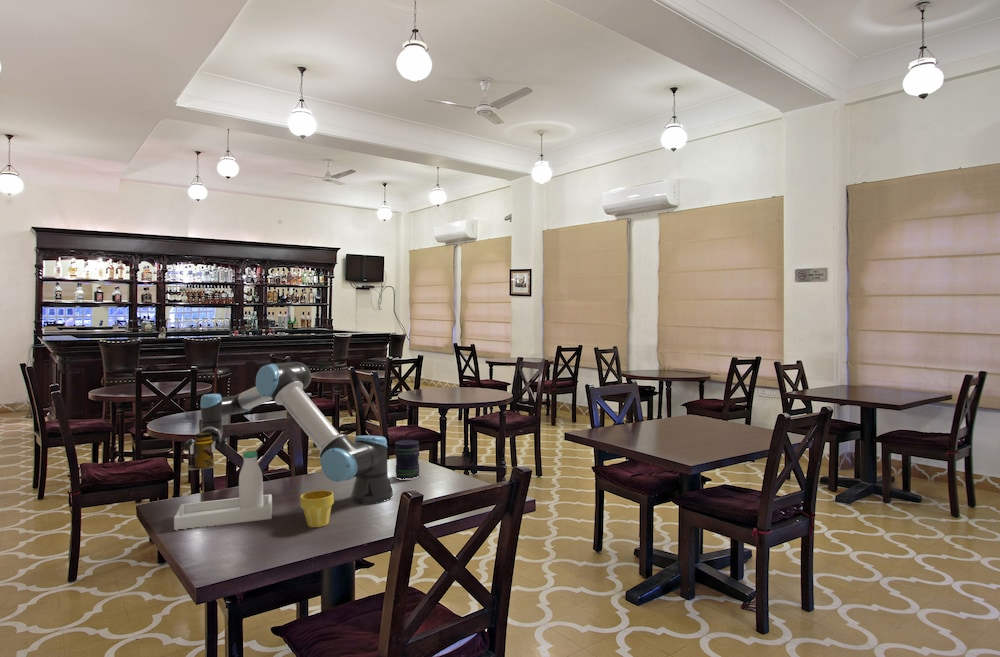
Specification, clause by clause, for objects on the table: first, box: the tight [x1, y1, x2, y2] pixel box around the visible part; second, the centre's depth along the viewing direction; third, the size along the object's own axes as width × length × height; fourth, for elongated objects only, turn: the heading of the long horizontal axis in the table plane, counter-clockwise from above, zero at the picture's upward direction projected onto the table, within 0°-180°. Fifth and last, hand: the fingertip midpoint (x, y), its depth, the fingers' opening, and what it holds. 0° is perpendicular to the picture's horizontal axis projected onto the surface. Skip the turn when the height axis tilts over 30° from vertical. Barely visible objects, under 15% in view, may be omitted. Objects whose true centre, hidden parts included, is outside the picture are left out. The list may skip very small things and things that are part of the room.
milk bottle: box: [238, 450, 264, 510], centre depth 210 cm, size 8×8×20 cm
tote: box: [173, 493, 273, 531], centre depth 205 cm, size 29×16×4 cm, turn 110°
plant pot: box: [300, 489, 335, 528], centre depth 196 cm, size 10×10×10 cm
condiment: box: [187, 432, 216, 471], centre depth 216 cm, size 7×8×12 cm
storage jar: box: [394, 439, 420, 479], centre depth 252 cm, size 10×10×15 cm
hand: (202, 449), depth 212 cm, fingers closed on condiment, 6 cm apart
